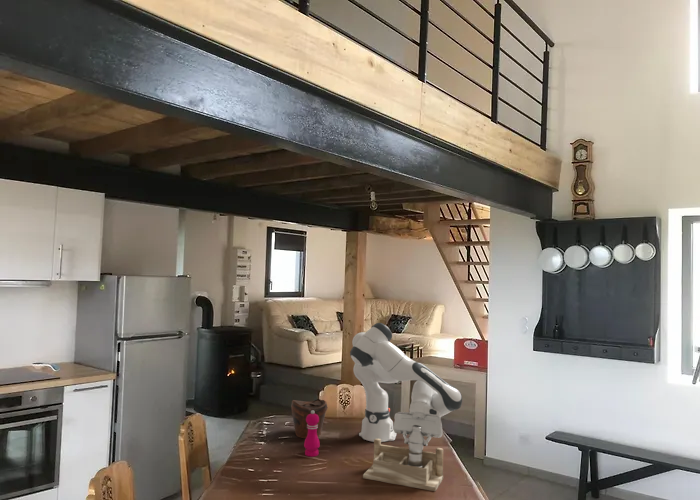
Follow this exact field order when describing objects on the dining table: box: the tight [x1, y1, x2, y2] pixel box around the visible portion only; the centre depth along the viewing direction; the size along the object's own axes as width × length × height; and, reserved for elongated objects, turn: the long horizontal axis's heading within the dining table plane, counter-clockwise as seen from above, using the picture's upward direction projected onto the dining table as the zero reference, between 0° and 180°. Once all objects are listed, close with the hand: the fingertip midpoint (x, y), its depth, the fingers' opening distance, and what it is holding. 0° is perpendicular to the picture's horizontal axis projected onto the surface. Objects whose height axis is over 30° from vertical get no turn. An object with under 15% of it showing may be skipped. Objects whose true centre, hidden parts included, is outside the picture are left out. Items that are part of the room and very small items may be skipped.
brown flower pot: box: [290, 398, 328, 439], centre depth 274 cm, size 18×20×18 cm
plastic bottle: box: [407, 425, 425, 468], centre depth 218 cm, size 6×7×20 cm
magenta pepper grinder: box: [303, 410, 321, 457], centre depth 246 cm, size 7×7×20 cm
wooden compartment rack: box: [362, 439, 444, 492], centre depth 221 cm, size 14×30×12 cm, turn 68°
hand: (415, 444), depth 218 cm, fingers closed on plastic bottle, 6 cm apart
